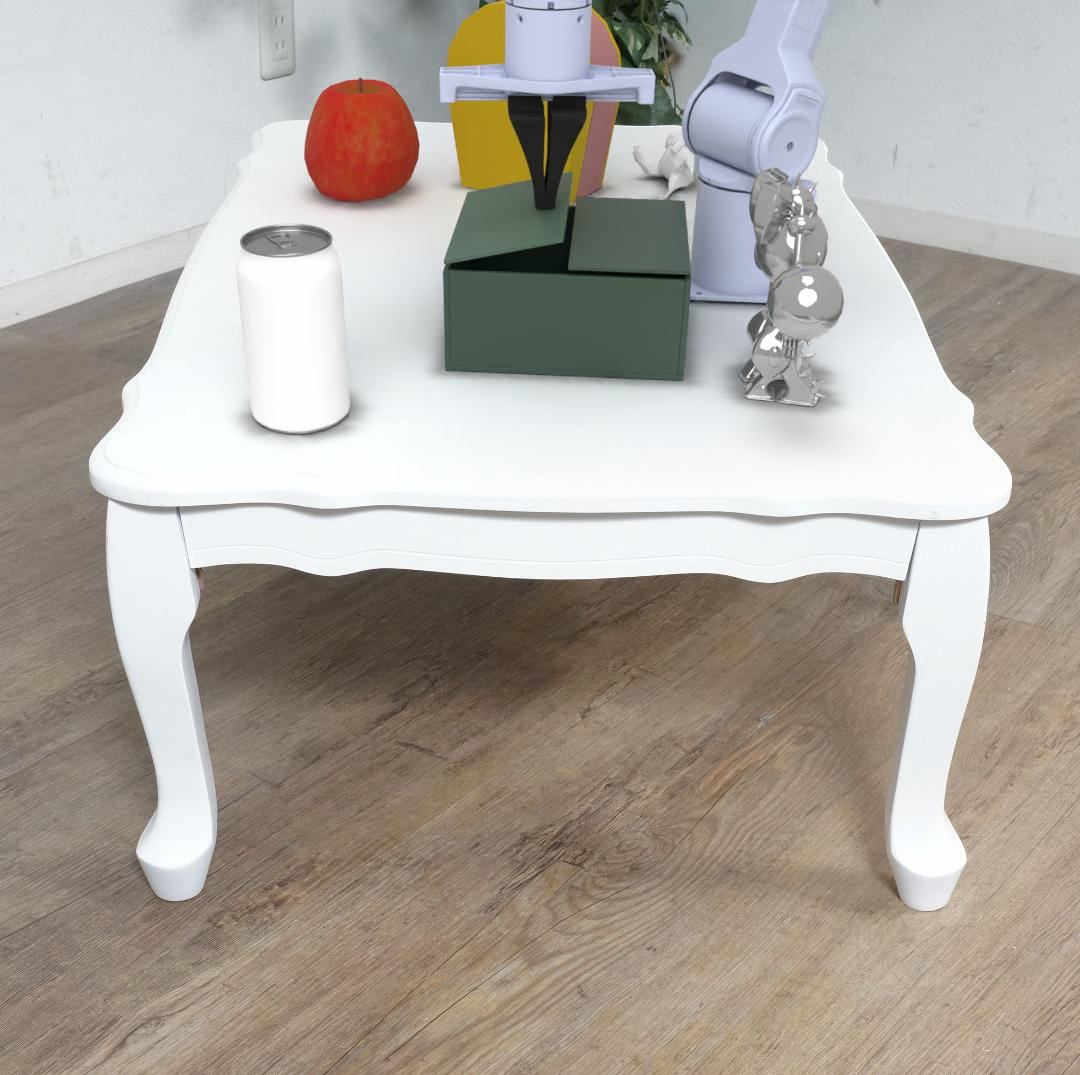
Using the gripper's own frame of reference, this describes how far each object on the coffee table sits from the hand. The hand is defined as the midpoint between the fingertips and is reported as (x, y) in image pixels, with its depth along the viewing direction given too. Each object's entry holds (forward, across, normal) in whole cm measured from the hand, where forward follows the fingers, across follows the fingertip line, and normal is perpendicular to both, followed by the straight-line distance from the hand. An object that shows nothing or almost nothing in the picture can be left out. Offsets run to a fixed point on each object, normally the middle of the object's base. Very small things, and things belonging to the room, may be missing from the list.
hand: (544, 204), depth 94 cm
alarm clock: (+10, -1, -35) cm, 37 cm away
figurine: (+10, -14, -37) cm, 41 cm away
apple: (+10, +16, -33) cm, 38 cm away
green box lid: (+1, +2, 0) cm, 2 cm away
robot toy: (+10, -16, +11) cm, 22 cm away
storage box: (+10, -2, 0) cm, 10 cm away
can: (+10, +16, +13) cm, 23 cm away
